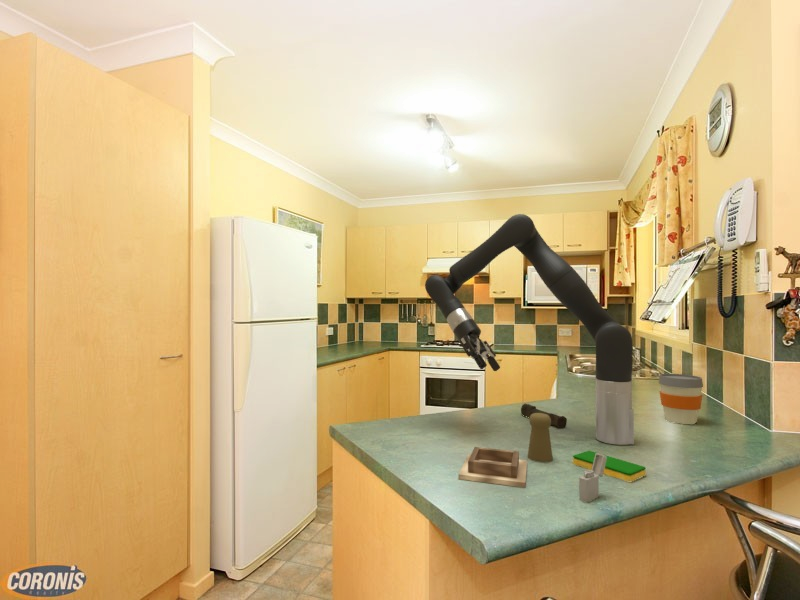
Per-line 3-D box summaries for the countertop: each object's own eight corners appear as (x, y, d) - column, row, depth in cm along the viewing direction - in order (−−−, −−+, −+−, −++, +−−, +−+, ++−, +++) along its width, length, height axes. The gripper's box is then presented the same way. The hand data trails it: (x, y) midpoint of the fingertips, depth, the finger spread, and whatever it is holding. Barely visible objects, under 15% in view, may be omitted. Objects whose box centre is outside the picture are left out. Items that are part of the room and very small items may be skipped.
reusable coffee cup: (712, 426, 138) (712, 379, 138) (673, 426, 138) (673, 379, 138) (687, 416, 150) (686, 373, 150) (651, 416, 150) (650, 373, 151)
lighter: (587, 502, 83) (586, 460, 83) (578, 499, 84) (578, 458, 84) (607, 493, 87) (607, 453, 87) (599, 490, 88) (599, 451, 88)
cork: (526, 460, 106) (526, 415, 106) (528, 452, 111) (528, 410, 112) (552, 463, 103) (552, 417, 104) (553, 455, 109) (553, 412, 109)
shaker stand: (527, 464, 103) (527, 449, 103) (525, 487, 89) (525, 470, 89) (468, 458, 107) (468, 443, 107) (458, 479, 94) (458, 462, 94)
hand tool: (567, 428, 135) (567, 413, 135) (558, 429, 134) (558, 414, 134) (527, 415, 152) (527, 402, 153) (518, 416, 151) (518, 402, 151)
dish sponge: (629, 484, 92) (629, 473, 92) (572, 465, 104) (572, 455, 104) (646, 477, 96) (646, 466, 96) (588, 459, 108) (588, 449, 108)
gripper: (460, 314, 127) (489, 359, 119) (483, 321, 138) (511, 363, 129) (442, 330, 130) (469, 374, 121) (466, 336, 141) (492, 377, 132)
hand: (491, 368), depth 125 cm, fingers open, 8 cm apart
